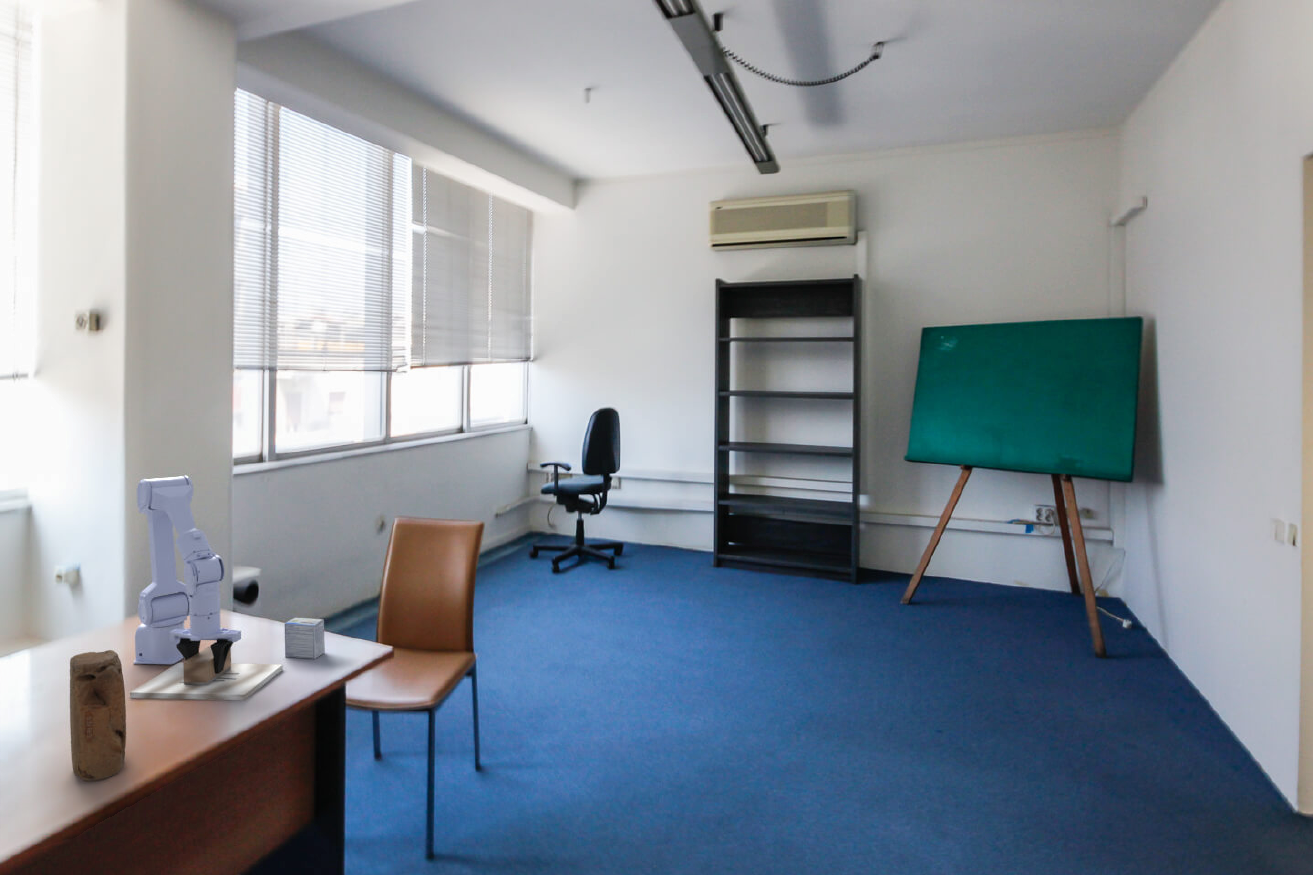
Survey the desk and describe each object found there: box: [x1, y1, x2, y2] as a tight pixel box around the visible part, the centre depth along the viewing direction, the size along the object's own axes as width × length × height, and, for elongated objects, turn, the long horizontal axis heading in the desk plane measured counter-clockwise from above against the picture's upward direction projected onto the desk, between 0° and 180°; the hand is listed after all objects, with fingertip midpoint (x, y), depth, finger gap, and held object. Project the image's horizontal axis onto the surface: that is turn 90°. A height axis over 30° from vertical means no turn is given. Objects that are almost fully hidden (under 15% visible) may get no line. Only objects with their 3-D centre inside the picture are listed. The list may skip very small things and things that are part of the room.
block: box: [69, 649, 127, 782], centre depth 125 cm, size 11×8×20 cm
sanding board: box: [129, 661, 284, 701], centre depth 160 cm, size 24×16×1 cm, turn 91°
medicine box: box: [284, 617, 326, 660], centre depth 177 cm, size 8×4×9 cm, turn 84°
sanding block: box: [182, 646, 232, 685], centre depth 161 cm, size 5×9×5 cm, turn 1°
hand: (206, 671), depth 160 cm, fingers closed on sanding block, 5 cm apart
